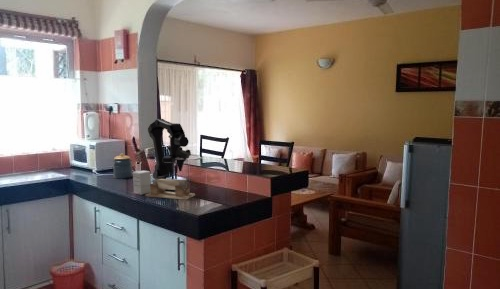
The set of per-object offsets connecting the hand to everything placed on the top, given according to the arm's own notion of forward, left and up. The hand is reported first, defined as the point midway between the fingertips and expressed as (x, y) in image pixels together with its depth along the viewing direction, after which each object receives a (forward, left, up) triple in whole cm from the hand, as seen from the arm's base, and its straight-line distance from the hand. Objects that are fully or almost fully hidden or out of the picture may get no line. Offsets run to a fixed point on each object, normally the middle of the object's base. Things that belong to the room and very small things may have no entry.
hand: (176, 172), depth 214 cm
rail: (+7, 0, -8) cm, 11 cm away
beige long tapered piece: (+7, 0, -12) cm, 14 cm away
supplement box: (+5, -20, -12) cm, 24 cm away
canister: (-35, -66, -12) cm, 76 cm away
